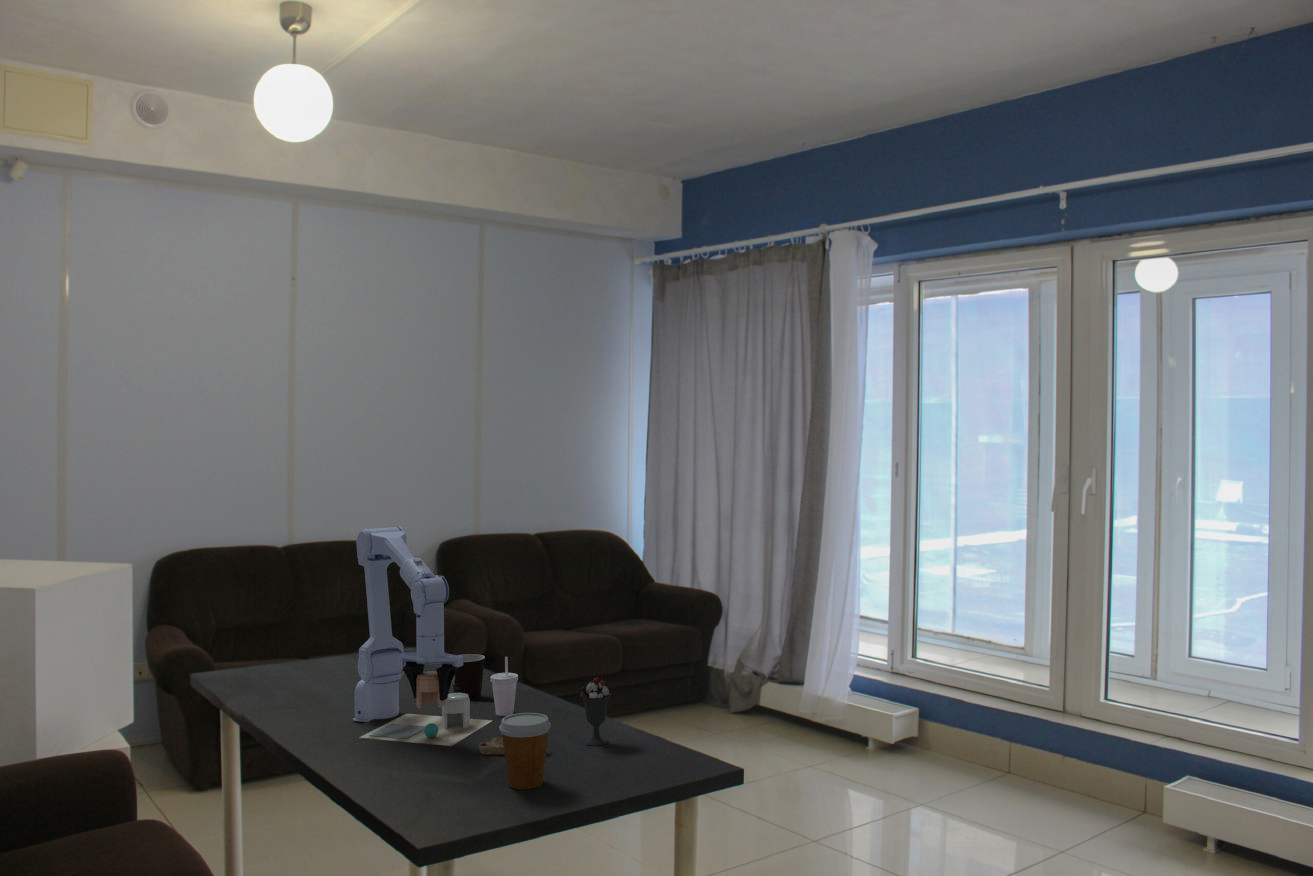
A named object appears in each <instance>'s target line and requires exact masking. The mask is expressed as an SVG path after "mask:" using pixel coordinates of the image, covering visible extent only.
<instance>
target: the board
mask: <svg viewBox="0 0 1313 876" xmlns="http://www.w3.org/2000/svg"><path fill="white" fill-rule="evenodd" d="M492 722H493V720H492V719H491V720H489V719H477V718H470V726H468V727H466V728H463V723H452V724H448V725H447V729H444V728H443V727H442V715H441V716H440V715H429V714H415V713H405V714H403V715H401V716H398V717H397V718H394V719H393V720H391V721H389V722H387V723H385V724H382V725H381V726H378V727H377V728H375V729H373V730H371V731H369V732H367V733H365V734H363V735H361V736H359V738H358V739H367V740H368V739H370V740H381V741H391V742H392V741H393V742H400V743H401V742H403V743H412V744H413V743H415V744H425V745H437V746H445V747H446V746H447V747H453V746H454V745H456V744H457V743H459V742H461V741H462V740H464V739H465V738H467V737H468V736H470V735H472V734H473V733H475V732H477V731H479V730H480V729H482V728H484V727H485V726H486V725H488V724H490V723H492ZM429 723H434V724H436V725H437V727H438V733H437V735H436V736H435V737H433V738H429V737H427V736H426V735H425V734H424V728H425V726H426V725H427V724H429Z"/></svg>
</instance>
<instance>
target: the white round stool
mask: <svg viewBox="0 0 1313 876" xmlns="http://www.w3.org/2000/svg"><path fill="white" fill-rule="evenodd" d="M470 702H471V701H470V698H469V697H468V694H466V693H454V692H452V693H448V699H446V700H445V705H444V706H442V707H441V716H442V727H443V728H444V729H447V725H448V724H452V723H463V728H466V727H468V726H470V719H471V714H470V711H471V707H470V706H471V703H470Z"/></svg>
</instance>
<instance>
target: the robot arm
mask: <svg viewBox="0 0 1313 876" xmlns="http://www.w3.org/2000/svg"><path fill="white" fill-rule="evenodd" d="M356 554H357V557H356V558H357V561H358V563H357V564H358V565H360V566H362V567H363V569H364V577H365V579H364V580H365V591H366V592H365V593H366V602H367V603H366V604H367V616H368V627H369V638H368V639H367V640H366V641H365V642H364V643H363V644H362V645H361V646H360V647H359V648H358V660H357V673H358V675H359V677H360V678H361V679H360V680H359V681H358V683H356V686H355V689H354V718H352V721H353V722H361V723H362V722H363V723H368V722H370V721H372V720H385V719H390V718H394V717H397V716H398V715H399V714H400V699H399V698H400V697H399V695H400V693H399V691H400V689H399V688H400V687H399V680H402V676H403V675H404V674H405V676H406V678H407V679H408V683H409V685H410V687H411V691H412V695H413V699H415V700H416V677H417V675H418V674H419V673H422V672H424V671H425V670H424V668H425V665H429V666H430V665H432V666H433V665H434V666H440V667H438V668H435V669H436V670H435V671H437V675H438V679H439V697H440V701H444V700H446V699H448V694H450V689H451V684H452V683H453V682H452V680H453V677H454V675H455V673H456V671H457V669H458V667H460V666H462V665H463V656H457V655H455V654H451V653H450V654H449V653H445V616H444V615H445V612H444V610H445V607H444V606H445V605H444V604H446V603H447V601H448V599H449V596H450V587H449V584H448V583H449V582H448V581H447V579H446V578H445V576H443V575H437V574H436V575H435V574H434V573H433V571H432V570H431V569H430V567H428V565H427V564H426V563H425V562H424V560H423V559H422V558H420V557H414V555H413V554H412V552H411V550H410V549H409V547H408V545H407V534H406V532H405V529H403V527H402V526H399V525H397V526H395V527H393V526H392V527H381V528H380V527H377V528H361V529H360V531H359V533H358V534H357V538H356ZM392 563H395V564H396V565H397V566H398V567H399V568H400V569H399V575H400V578H401V579H402V580H403V582H404V583H405V584H406V585H407V586H408V588H409V589H410V596H411V601H412V605H413V613H414V614H416V615H415V616H416V618H415V621H416V626H415V627H416V628H415V629H416V632H415V634H416V637H415V638H416V640H415V642H416V652H405V648H404V644H403V642H401V641H400V640H398V639H397V638H396V637H394V636H393V630H392V628H393V627H392V618H391V617H392V616H391V606H390V595H389V594H390V593H389V583H388V581H389V579H388V571H387V569H388V567H389V565H390V564H392ZM386 649H387V650H386ZM380 650H381V651H380Z"/></svg>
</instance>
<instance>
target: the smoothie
mask: <svg viewBox="0 0 1313 876" xmlns="http://www.w3.org/2000/svg"><path fill="white" fill-rule="evenodd" d="M508 660H509V659H508V656H505V657H504V661H505V662H504V665H505V666H504V667H505V668H504V670H505V671H504V672H499V673H494V674H492V675H491V676H490V682H491V684H492V685H491V687H492V693H493V694H492V695H493V700H494V709H495V715H496V716H499V717H506V716H508V715H512V714H514V710H515V702H516V701H515V700H516V691H517V684H518V683H517V682H518V680H519V675H518V673H513V672H509V670H508V669H509V668H508V667H509V666H508V665H509V664H508V663H509V662H508Z"/></svg>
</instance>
